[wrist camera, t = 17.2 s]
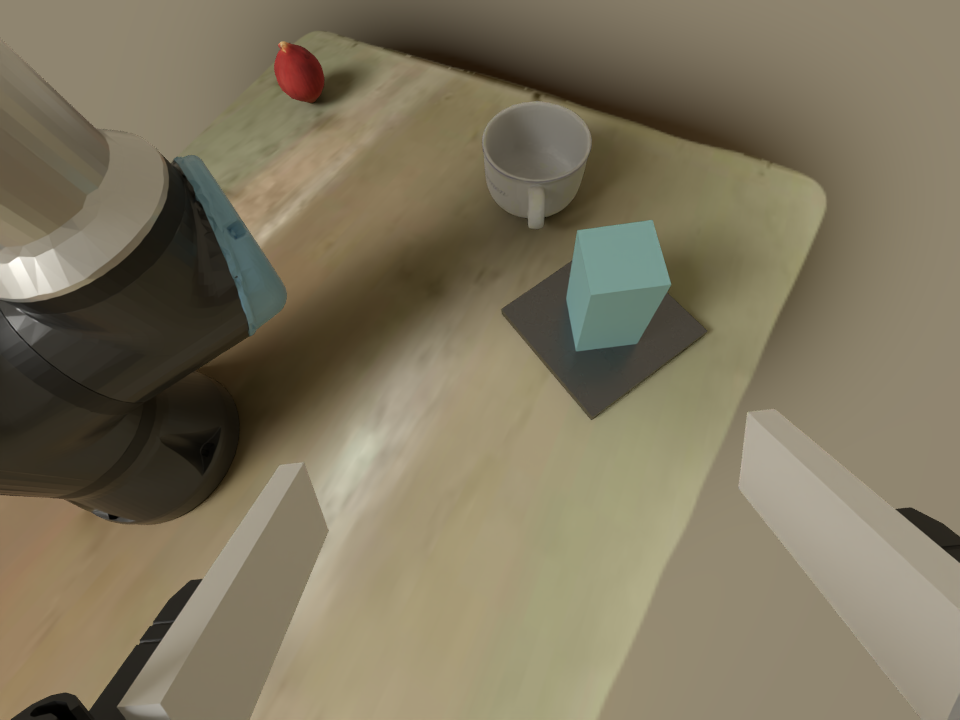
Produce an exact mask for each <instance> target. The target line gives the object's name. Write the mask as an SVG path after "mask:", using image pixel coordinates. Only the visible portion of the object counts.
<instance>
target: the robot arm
mask: <svg viewBox="0 0 960 720" xmlns="http://www.w3.org/2000/svg"><path fill="white" fill-rule="evenodd" d="M286 299H287V292H286V288H285V286H284V284H283V282H282V281H281V279H280V278H279V276H278V274H277V273H276V271H275V270H274V268H273V267H272V265H271V264H270V262H269V261H268V259H267V258H266V256H265V254H264V253H263V251H262V250H261V248H260V247H259V245H258V244H257V242H256V241H255V239H254V238H253V236H252V235H251V233H250V232H249V230H248V229H247V227H246V225H245V224H244V223H243V221H242V220H241V218H240V217H239V215H238V214H237V212H236V211H235V209H234V207H233V206H232V204H231V203H230V201H229V200H228V198H227V197H226V195H225V194H224V192H223V191H222V189H221V188H220V186H219V185H218V183H217V182H216V180H215V179H214V177H213V176H212V174H211V173H210V171H209V170H208V169H207V167H206V166H205V164H204V163H203V161H202V160H201V159H200V158H199V157H197V156H195V155H188V156H185V157H176V158H174V160H173V161H172V163H170V162H169V161H168V160H167V159H166V158H165V157H164V156H163V155H162V154H161V153H160V152H159V151H158V150H157V149H156V148H155V147H154V146H153V145H151V144H150V143H149V142H148V141H146V140H145V139H144V138H142V137H140V136H138V135H135V134H133V133H128V132H124V131H116V130H107V129H97V128H95V127H94V126H93V125H92V124H90V123H89V121H87V120H86V119H85V118H84V117H83V116H82V115H81V114H80V113H79V112H78V111H77V110H76V109H75V108H74V107H73V106H72V105H71V104H69V103H68V102H67V101H66V100H65V99H64V98H63V97H62V96H61V95H60V94H59V93H58V92H57V91H56V90H54V88H53V87H52V86H51V85H49V84H48V83H47V82H46V81H45V80H44V79H43V78H42V77H41V76H40V75H39V74H38V73H37V72H36V71H35V70H34V69H33V68H31V67H30V66H29V65H28V64H27V63H26V62H25V61H24V60H23V59H22V58H21V57H20V56H19V55H18V54H17V53H16V52H15V51H14V50H13V49H11V48H10V47H9V46H8V45H7V44H6V43H5V42H4V41H3V40H2V39H1V38H0V495H10V496H28V497H47V498H59V499H64V500H66V501H68V502H70V503H72V504H74V505H76V506H78V507H80V508H82V509H84V510H87V511H90V512H92V513H93V514H95V515H97V516H99V517H101V518H103V519H105V520H108V521H111V522H115V523H120V524H138V525H151V524H159V523H163V522H167V521H170V520H173V519H175V518H178V517H180V516H182V515H184V514H185V513H187V512H189V511H190V510H192V509H193V508H195V507H196V506H198V505H199V504H200V503H201V502H203V501H204V500H205V499H206V498H207V497H208V496H209V495H210V494H211V493H212V492H213V491H214V489H215V488H216V487H217V486H218V484H219V483H220V482H221V480H222V479H223V477H224V476H225V474H226V472H227V471H228V469H229V467H230V465H231V462H232V460H233V458H234V455H235V452H236V448H237V444H238V438H239V418H238V412H237V409H236V406H235V403H234V401H233V399H232V397H231V396H230V394H229V393H228V391H227V390H226V389H225V388H224V387H223V386H222V385H221V384H220V383H218V382H217V381H215V380H213V379H212V378H210V377H208V376H205V375H203V374H201V373H199V372H197V371H195V370H197V369H199V368H200V367H202V366H203V365H205V364H206V363H208V362H209V361H211V360H213V359H214V358H216V357H217V356H219V355H220V354H222V353H224V352H225V351H227V350H228V349H230V348H231V347H233V346H235V345H236V344H238V343H239V342H241V341H242V340H244V339H246V338H247V337H249V336H252V335H253V334H254V333H255V332H256V330H257V329H258V328H259V327H260V326H262V325H263V324H264V323H266V322H267V321H268V320H270V319H271V318H272V317H274V316H275V315H276V314H278V313H279V312H280V311H281V310H282V309H283V307H284V305H285V303H286ZM738 488H739V490H740V491H741V492H742V493H743V495H744V496H745V497H746V498H747V500H748V501H749V502H750V504H751V505H752V506H753V507H754V509H755V510H756V511H757V512H758V514H759V515H760V516H761V517H762V519H763V520H764V521H765V523H766V524H767V525H768V526H769V528H770V529H771V530H772V531H773V533H774V534H775V535H776V536H777V538H778V539H779V540H780V541H781V543H782V544H783V545H784V546H785V548H786V549H787V550H788V552H789V553H790V554H791V555H792V557H793V558H794V559H795V560H796V562H797V563H798V564H799V566H800V567H801V568H802V569H803V571H804V572H805V573H806V574H807V576H808V577H809V578H810V579H811V581H812V582H813V583H814V584H815V586H816V587H817V588H818V590H819V591H820V592H821V593H822V595H823V596H824V597H825V598H826V600H827V601H828V602H829V603H830V605H831V606H832V607H833V608H834V610H835V611H836V612H837V614H838V615H839V616H840V617H841V619H842V620H843V621H844V622H845V624H846V625H847V626H848V627H849V629H850V630H851V631H852V633H853V634H854V635H855V636H856V638H857V639H858V640H859V641H860V643H861V644H862V645H863V646H864V648H865V649H866V650H867V651H868V653H869V654H870V655H871V657H872V658H873V659H874V660H875V661H876V663H877V664H878V665H879V667H880V668H881V669H882V670H883V672H884V673H885V674H886V675H887V677H888V678H889V679H890V680H891V682H892V683H893V684H894V685H895V687H896V688H897V689H898V691H899V692H900V693H901V694H902V696H903V697H904V698H905V699H906V701H907V702H908V703H909V704H910V706H911V707H912V708H913V710H914V711H915V712H916V713H917V715H918V716H919V717H920V718H921V719H922V720H960V537H959V536H958V535H957V534H955V533H954V532H953V531H952V530H950V529H949V528H948V527H946V526H945V525H944V524H943V523H941V522H939V521H937V520H935V519H933V518H931V517H929V516H927V515H925V514H923V513H921V512H919V511H917V510H915V509H913V508H901V509H894V508H893V507H892V506H891V505H889V504H888V503H887V502H886V501H885V500H883V499H882V498H881V497H880V496H879V495H877V494H876V493H875V492H874V491H873V490H872V489H870V488H869V487H868V486H867V485H866V484H864V483H863V482H862V481H861V480H860V479H858V478H857V477H856V476H855V475H853V474H852V473H851V472H850V471H849V470H848V469H846V468H845V467H844V466H843V465H841V464H840V463H839V462H838V461H837V460H836V459H834V458H833V457H832V456H831V455H829V454H828V453H827V452H826V451H825V450H824V449H822V448H821V447H820V446H819V445H818V444H816V443H815V442H814V441H813V440H812V439H810V438H809V437H808V436H807V435H806V434H804V433H803V432H802V431H801V430H799V429H798V428H797V427H796V426H795V425H794V424H792V423H791V422H790V421H789V420H788V419H787V418H785V417H784V416H783V415H782V414H780V413H779V412H778V411H777V410H776V409H768V410H759V411H751V412H747V419H746V427H745V436H744V444H743V454H742V462H741V470H740V479H739V487H738ZM328 531H329V530H328V528H327V525H326V522H325V519H324V516H323V514H322V511H321V508H320V505H319V502H318V500H317V497H316V494H315V491H314V488H313V486H312V483H311V480H310V477H309V475H308V472H307V469H306V466H305V463H304V462H301V463H292V464H283V465H279V467H278V468H277V470H276V471H275V473H274V474H273V476H272V477H271V479H270V480H269V482H268V483H267V485H266V486H265V488H264V489H263V491H262V492H261V494H260V495H259V496H258V498H257V499H256V501H255V502H254V504H253V505H252V507H251V508H250V510H249V511H248V513H247V514H246V516H245V517H244V519H243V520H242V522H241V523H240V525H239V526H238V528H237V529H236V531H235V532H234V534H233V535H232V537H231V538H230V540H229V541H228V543H227V544H226V546H225V547H224V548H223V550H222V551H221V553H220V554H219V556H218V557H217V559H216V560H215V562H214V563H213V565H212V566H211V568H210V569H209V571H208V572H207V574H206V575H205V577H204V578H203V579H198V580H190V581H189V582H188V583H187V584H186V585H185V586H184V587H183V588H181V589H180V590H179V591H178V592H177V593H176V594H175V595H174V596H173V597H172V598H170V599H169V600H168V602H167V603H166V605H165V606H164V607H163V609H162V610H161V612H160V613H159V614H158V616H157V617H156V619H155V620H154V621H153V626H150V627H149V628H148V630H147V631H146V632H145V634H144V635H143V637H142V638H141V639H140V644H139V645H136V646H135V648H134V649H133V651H132V652H131V653H130V655H129V656H128V657H127V659H126V660H125V662H124V663H123V664H122V666H121V667H120V669H119V670H118V671H117V673H116V674H115V676H114V677H113V678H112V680H111V681H110V683H109V684H108V685H107V687H106V688H105V689H104V691H103V692H102V694H101V695H100V696H99V698H98V699H97V701H96V702H95V703H94V705H93V706H92V708H91V709H90V710H89V711H88V710H87V709H86V708H85V706H84V705H83V704H82V703H81V701H80V700H79V699H78V698H77V697H76V696H75V695H72V694H69V693H61V694H55V695H51V696H49V697H46V698H44V699H42V700H40V701H38V702H36V703H34V704H32V705H31V706H29V707H28V708H26V709H25V710H23V711H22V712H21V713H19V714H18V715H16V716H15V717H13V718H12V719H11V720H250V717H251V715H252V713H253V710H254V708H255V705H256V703H257V701H258V698H259V696H260V694H261V691H262V689H263V686H264V684H265V682H266V679H267V677H268V674H269V672H270V670H271V667H272V665H273V662H274V660H275V658H276V655H277V653H278V651H279V648H280V646H281V643H282V641H283V639H284V636H285V634H286V631H287V629H288V627H289V624H290V622H291V620H292V617H293V615H294V612H295V610H296V608H297V605H298V603H299V600H300V598H301V596H302V593H303V591H304V588H305V586H306V584H307V581H308V579H309V577H310V574H311V572H312V569H313V567H314V565H315V562H316V560H317V557H318V555H319V553H320V550H321V548H322V545H323V543H324V541H325V538H326V536H327V534H328Z"/></svg>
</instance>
